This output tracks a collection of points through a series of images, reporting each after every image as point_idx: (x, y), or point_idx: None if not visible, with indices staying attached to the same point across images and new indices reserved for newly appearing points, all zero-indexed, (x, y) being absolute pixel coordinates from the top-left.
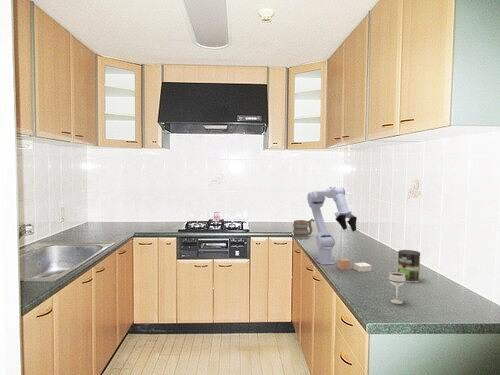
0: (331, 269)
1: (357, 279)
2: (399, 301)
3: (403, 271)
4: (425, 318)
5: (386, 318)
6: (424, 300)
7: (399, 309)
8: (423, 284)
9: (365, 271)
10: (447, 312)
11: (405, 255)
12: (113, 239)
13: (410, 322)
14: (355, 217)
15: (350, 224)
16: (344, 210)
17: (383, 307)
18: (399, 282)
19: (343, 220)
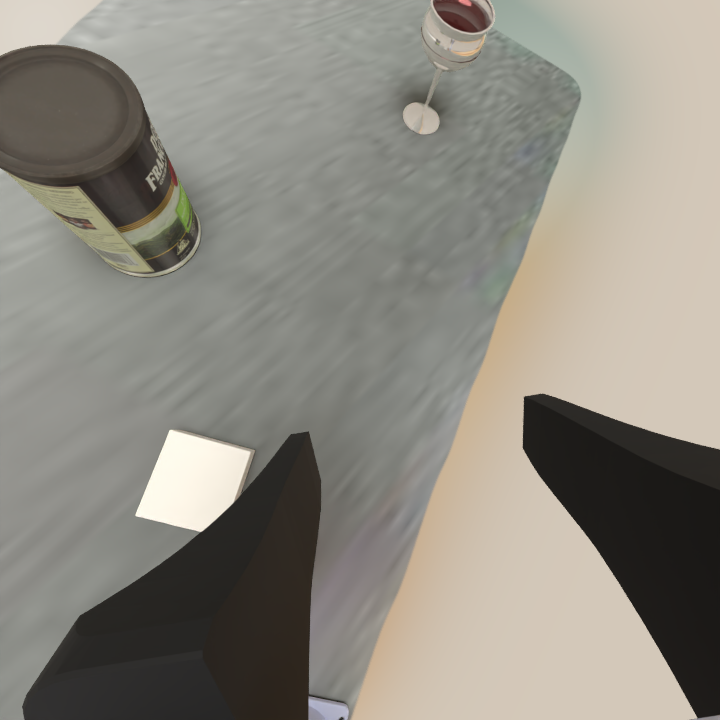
0: (361, 570)
1: (364, 353)
2: (420, 106)
3: (184, 196)
4: None
5: (534, 73)
6: (332, 76)
7: (461, 83)
8: None
9: (219, 440)
10: (359, 3)
11: (144, 107)
12: None
13: (498, 31)
14: (154, 619)
15: (305, 607)
16: None
17: (491, 115)
18: (464, 22)
19: (704, 456)
